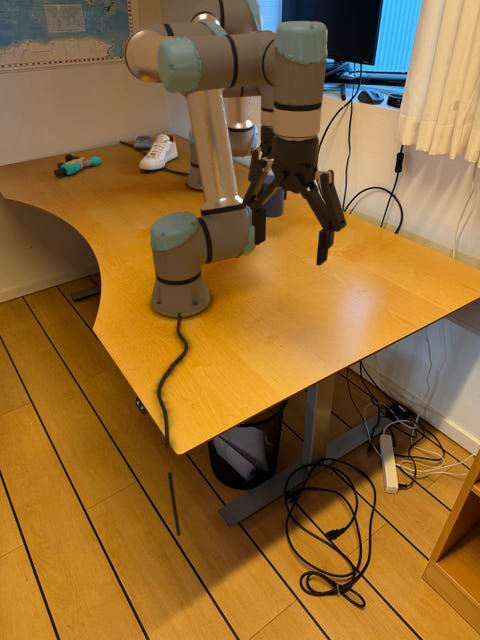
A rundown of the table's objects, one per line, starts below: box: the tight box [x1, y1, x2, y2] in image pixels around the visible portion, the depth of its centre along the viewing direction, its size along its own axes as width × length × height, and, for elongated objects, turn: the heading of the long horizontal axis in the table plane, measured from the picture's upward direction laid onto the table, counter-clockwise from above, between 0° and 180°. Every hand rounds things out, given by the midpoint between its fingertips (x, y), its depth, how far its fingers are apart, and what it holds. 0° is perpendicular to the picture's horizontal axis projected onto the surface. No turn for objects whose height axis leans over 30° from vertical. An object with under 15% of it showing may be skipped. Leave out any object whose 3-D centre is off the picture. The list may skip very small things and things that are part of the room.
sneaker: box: [139, 133, 179, 171], centre depth 214 cm, size 10×29×12 cm, turn 163°
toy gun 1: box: [53, 153, 102, 178], centre depth 211 cm, size 4×26×15 cm
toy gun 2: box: [132, 135, 155, 151], centre depth 238 cm, size 4×19×15 cm
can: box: [261, 174, 285, 219], centre depth 148 cm, size 8×8×11 cm
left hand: (289, 252), depth 89 cm, fingers open, 13 cm apart
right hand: (271, 200), depth 149 cm, fingers closed on can, 8 cm apart
